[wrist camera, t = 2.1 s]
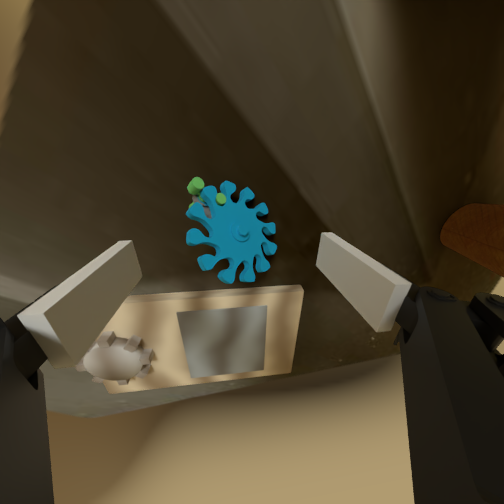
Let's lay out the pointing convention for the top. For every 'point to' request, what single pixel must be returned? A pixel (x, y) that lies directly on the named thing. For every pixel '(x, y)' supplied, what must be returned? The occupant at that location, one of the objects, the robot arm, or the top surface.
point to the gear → (229, 230)
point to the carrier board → (196, 338)
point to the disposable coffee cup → (477, 234)
